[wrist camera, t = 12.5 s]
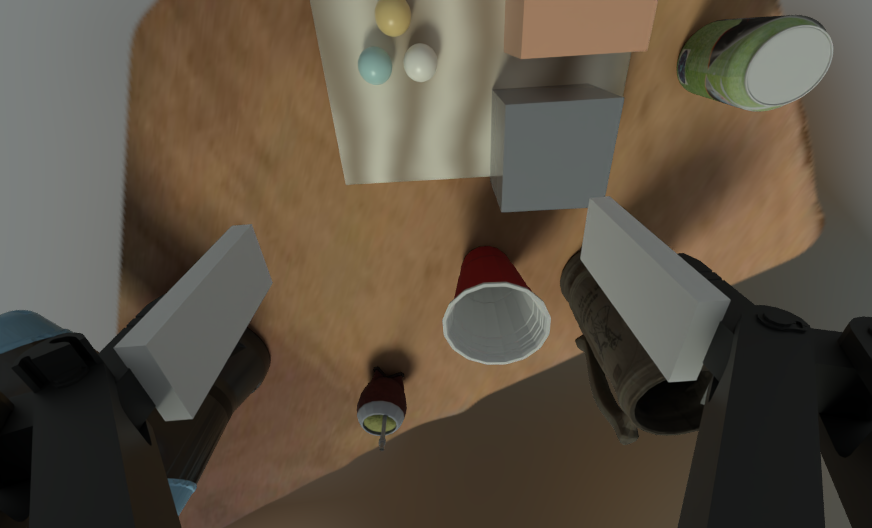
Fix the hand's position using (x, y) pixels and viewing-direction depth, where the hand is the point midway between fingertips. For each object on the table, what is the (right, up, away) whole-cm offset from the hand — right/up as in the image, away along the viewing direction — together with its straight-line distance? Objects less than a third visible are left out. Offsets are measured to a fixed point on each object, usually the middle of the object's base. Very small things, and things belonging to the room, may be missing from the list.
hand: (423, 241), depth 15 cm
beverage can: (+25, +19, +20) cm, 37 cm away
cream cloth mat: (+4, +17, +21) cm, 27 cm away
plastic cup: (+6, -1, +33) cm, 33 cm away
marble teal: (-5, +17, +19) cm, 26 cm away
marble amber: (-3, +20, +17) cm, 27 cm away
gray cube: (+11, +12, +23) cm, 28 cm away
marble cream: (-1, +18, +19) cm, 26 cm away
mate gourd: (-7, -19, +44) cm, 48 cm away
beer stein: (+22, -4, +35) cm, 41 cm away
